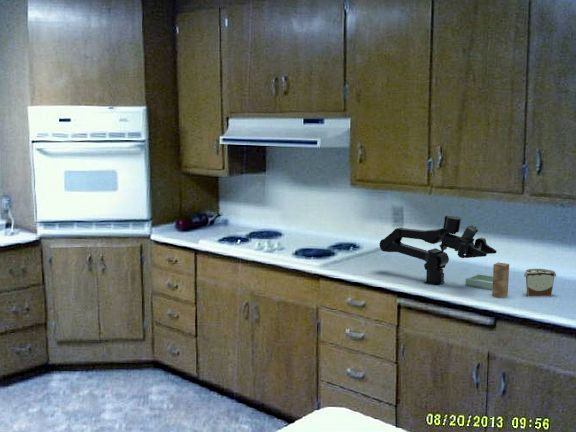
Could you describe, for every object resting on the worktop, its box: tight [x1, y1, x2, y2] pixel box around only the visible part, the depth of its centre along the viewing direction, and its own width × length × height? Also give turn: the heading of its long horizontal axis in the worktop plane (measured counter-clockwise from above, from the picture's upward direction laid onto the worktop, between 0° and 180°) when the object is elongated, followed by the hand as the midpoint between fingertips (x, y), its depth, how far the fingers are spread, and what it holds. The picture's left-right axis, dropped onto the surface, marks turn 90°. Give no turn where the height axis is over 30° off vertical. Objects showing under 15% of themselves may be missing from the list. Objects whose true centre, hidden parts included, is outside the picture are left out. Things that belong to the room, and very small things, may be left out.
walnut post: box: [491, 261, 510, 299], centre depth 256 cm, size 4×4×13 cm
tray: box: [464, 273, 493, 291], centre depth 273 cm, size 12×12×3 cm
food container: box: [523, 268, 557, 298], centre depth 258 cm, size 12×6×10 cm, turn 92°
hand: (491, 253), depth 259 cm, fingers open, 9 cm apart
